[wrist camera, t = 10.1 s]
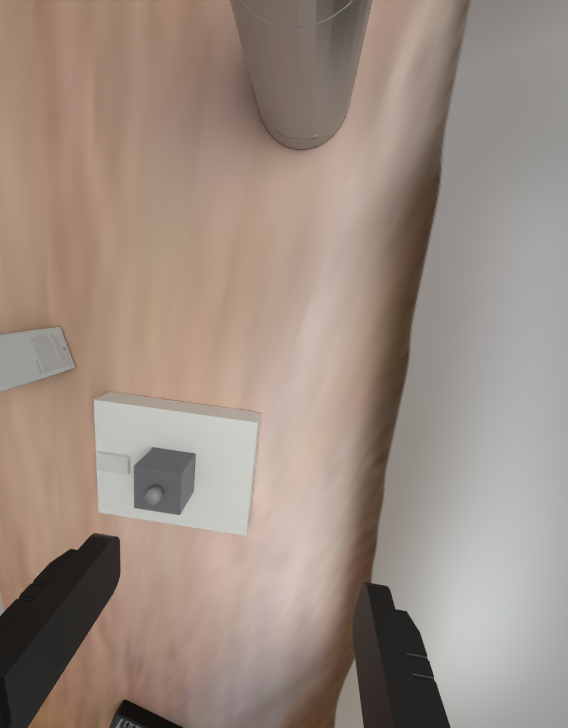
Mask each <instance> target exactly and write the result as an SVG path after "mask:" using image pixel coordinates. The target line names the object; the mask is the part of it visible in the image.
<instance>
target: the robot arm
mask: <svg viewBox="0 0 568 728" xmlns="http://www.w3.org/2000/svg"><path fill="white" fill-rule="evenodd" d="M230 2H231V6H232V10H233V13H234V17H235V21H236V25H237V29H238V32H239V36H240V40H241V44H242V48H243V51H244V55H245V59H246V63H247V67H248V70H249V74H250V78H251V82H252V86H253V90H254V94H255V97H256V101H257V105H258V108H259V112H260V115H261V119H262V121H263V123H264V125H265V127H266V129H267V130H268V132H269V133H270V134H271V136H272V137H273V138H274V139H276V140H277V141H278V142H279V143H281V144H283V145H285V146H287V147H289V148H294V149H310V148H313V147H317V146H319V145H321V144H323V143H324V142H326V141H327V140H328V139H330V138H331V137H332V136H333V135H334V134H335V133H336V132H337V130H338V129H339V128H340V127H341V125H342V123H343V121H344V119H345V117H346V114H347V111H348V108H349V105H350V100H351V96H352V91H353V87H354V82H355V78H356V74H357V69H358V64H359V60H360V55H361V51H362V46H363V41H364V37H365V32H366V28H367V23H368V18H369V14H370V9H371V5H372V0H230ZM119 577H120V540H119V538H118V537H115V536H110V535H104V534H99V533H94V534H92V535H91V536H90V537H89V538H88V539H87V540H86V541H85V542H84V544H83V545H82V546H81V547H80V548H79V549H78V550H73V549H70V550H68V551H67V552H65V553H64V554H62V555H61V556H59V557H58V558H56V559H55V560H54V561H52V562H51V563H50V564H49V565H48V566H47V567H46V568H45V569H44V570H43V571H42V572H41V573H40V574H39V575H38V576H37V577H36V579H35V580H34V582H33V583H32V584H30V585H29V586H28V587H27V588H26V589H25V590H24V591H23V592H22V593H21V595H20V597H19V598H18V599H16V600H15V601H14V602H13V603H12V604H11V605H10V606H9V607H8V608H7V609H6V611H5V612H4V613H3V614H2V615H1V616H0V728H28V726H29V725H30V723H31V721H32V720H33V718H34V717H35V715H36V714H37V712H38V710H39V709H40V707H41V706H42V704H43V703H44V701H45V700H46V698H47V696H48V695H49V693H50V692H51V690H52V689H53V687H54V685H55V684H56V682H57V681H58V679H59V678H60V676H61V674H62V673H63V671H64V670H65V668H66V667H67V665H68V663H69V662H70V660H71V659H72V657H73V656H74V654H75V653H76V651H77V649H78V648H79V646H80V645H81V643H82V642H83V640H84V638H85V637H86V635H87V634H88V632H89V631H90V629H91V627H92V626H93V624H94V623H95V621H96V620H97V618H98V616H99V615H100V613H101V612H102V610H103V609H104V607H105V606H106V604H107V602H108V601H109V599H110V598H111V596H112V594H113V593H114V591H115V589H116V586H117V584H118V581H119ZM353 644H354V652H355V660H356V668H357V676H358V684H359V692H360V699H361V708H362V716H363V724H364V728H450V725H449V722H448V719H447V715H446V712H445V709H444V706H443V703H442V700H441V697H440V694H439V691H438V687H437V684H436V682H435V681H434V675H433V672H432V669H431V666H430V662H429V661H428V659H427V653H426V651H425V647H424V644H423V641H422V638H421V634H420V632H419V630H418V629H417V627H416V626H415V624H414V622H413V621H412V619H411V618H410V616H409V615H408V613H407V611H402V610H396V609H395V606H394V602H393V599H392V595H391V592H390V589H389V588H388V587H387V586H384V585H378V584H372V583H367V582H363V583H362V586H361V590H360V594H359V598H358V601H357V605H356V609H355V613H354V618H353Z"/></svg>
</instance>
